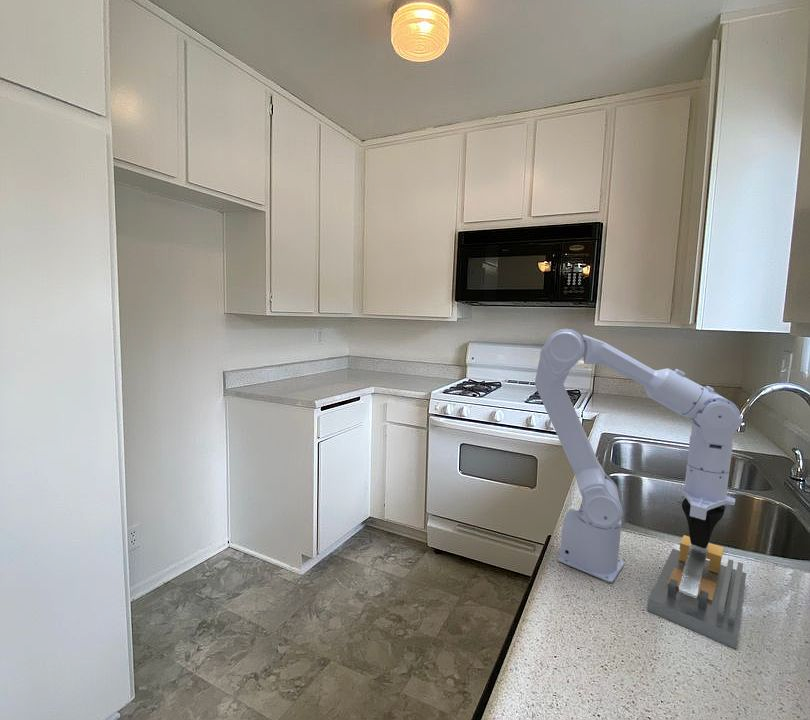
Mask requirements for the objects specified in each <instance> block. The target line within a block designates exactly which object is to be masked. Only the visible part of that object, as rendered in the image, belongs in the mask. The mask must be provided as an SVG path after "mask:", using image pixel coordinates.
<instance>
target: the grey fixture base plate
mask: <svg viewBox="0 0 810 720" xmlns="http://www.w3.org/2000/svg"><path fill="white" fill-rule="evenodd" d="M679 555H680V549H679V550H678V549H675V548H672V549H671V550H670V554H669V556H668V558H667V560H666V561H665V564H664V566H663V568H662V570H661V572H660V574H659V576H658V578H657V580H656V582H655V585H654V587H653V589H652V591H651V593H650V595H649V597H648V600H647V601H648V602H647V612H649V613H652V614H654V615H657V616H658V617H661V618H663V619H666V620H667V621H670V622H672V623H675V624H677V625H679V626H682V627H684V628H686V629H689V630H691V631H694V632H696V633H698V634H700V635H703V636H705V637H707V638H710V639H712V640H714V641H716V642H718V643H720V644H722V645H726V646H728V647H730V648H732V649H735V650H737V646H738V645H737V644H738V637H739V632H740V631H739V630H740V623H741V617H742V615H741V614H742V608H743V600H744V593H745V586H746V577H747V572H744V571H743V568H744V563H742V562H739V561H738V562H737V567H736V569H735V568H734V559H731V558H728V560H727V565H723V564H721V565H720V569H719V573H715V572H712V571H709V562H710V559H706V560H705V565H704V569H703V574H702V578H701V583H700V587H699V592H698V596H697V599H695V598H693V597H690V596H688V595H685V594H682V593H680V592H679V586H680V582H681V578H682V575H683V571H684V567H685V563H686V562H683V561H680V560H679Z"/></svg>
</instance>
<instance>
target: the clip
mask: <svg viewBox="0 0 810 720" xmlns="http://www.w3.org/2000/svg"><path fill="white" fill-rule="evenodd" d="M690 544H691V541H690V535H689V536H688V535H685V534H684V535H683V536H682V539H681V541H680V542H679V551H680V555H679V560H680V561H683V562H686V559H687V556H688V552H689V548H690ZM723 555H724V547H723V546H720V545H716V544H714V543H710V542H709V543H708V551H707V556H706V560H709V561H710V562H709V571H712V572H715V573H719V569H720V565H722V558H723Z"/></svg>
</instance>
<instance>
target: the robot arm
mask: <svg viewBox="0 0 810 720" xmlns="http://www.w3.org/2000/svg"><path fill="white" fill-rule="evenodd" d="M582 358H583V365H596V364H597V365H598V364H599V365H603V366H605V367H607V368H609V369H611V370H613V371H615V372H616V373H619V374H621V375H623V376H624V377H627V378H628V379H630V380H632V381H634V382H637V383H638V384H639V385H641V386H644V388H645V393H646V396H647V398H649V399H651V400H652V401H655V402H656V403H658V404H661V405H663V406H664V407H666V408H668V409H670V410H671V411H673V412H675V413H676V414H678V415H681V416H682V417H685V418H690V419H691V420H692V422H691V423H692V424H691V434H690V436H689V444H688V445H689V446H688V452H687V453H688V454H687V463H686V471H685V479H684V480H685V481H684V486H683V487H682V494H683V496H684V497H685V498H684V499H683V500H682V502H681V508H682V510H683V512H684V515H685V517H686V520H687V526H688V534H689V537H690V541H691V544H692V545H695V546H698V547H701V548H705V549H706V547H707V545H708V543H710V539H711V538H712V534H713V531H714V529H715V527H716V525H717V524H718V522H720V520H721V519H722V518H723V517H724V514H725V510H726V506H725V505H729V506H735V504H736V498H735V497H733V496H729V495H727V494H728V486H729V478H730V471H731V462H732V454H733V447H734V446H733V441H734V440H733V439H734V432H736V431H737V430H738V429H739V428H740V427H741V425H742V424H743V421H744V419H743V417H741V411H740V409H739V408H738V406H737V405H736V404H735V403H734V402H733V401H731V400H729V399H727V398H726V397H723V396H722V395H720V394H719V393H718V392H716V391H715V389H714V388H713V387H711V386H709V385H705V386H702V385H701V384H699V383H697V382H695V381H693V380H691V379H690V378H688V377H686V376H685V375H686V373H685V372H684V371H682V370H680V369H678V368H675V369H674V370H673V369H670V368H662V369H658V370H655V369H653V368H651V367H649V366H647V365H646V364H644V363H642V362H640V361H639V360H637V359H635V358H633V357H631V356H630V355H628V354H626V353H624V352H622V351H621V350H619V349H617V348H616V347H614V346H612V345H610V344H609V343H607V342H605V341H602V340H600V339H597V338H594V337H592V336H589V335H586V334H585V333H584V334H582V335H581V334H580V333H579V332H578V331H576V330H575V329H571V328H562V329H559V330H557V331H554V332H553V333H552V334H551V335H550V336H549V337H548V338H547V340H546V341H545V343H544V345H543V346H542V348H541V349H540V353H539V361H538V363H537V364H538V365H537V371H536V375H535V380H534V385H535V388H536V391H537V393H538V396H539V397H540V400H541V402H542V404H543V407H544V408H545V411H546V412H547V416H548V417H549V420H550V422H551V424H552V427H553V428H554V432H555V434H556V436H557V437H558V439H559V442H560V444H561V446H562V449H563V451H564V453H565V455H566V457H567V459H568V460H567V461H568V462H569V465H570V467H571V469H572V471H573V474H574V476H575V479H576V483H577V487H578V491H579V493H580V495H581V499H582V505H581V506H580V508H578V510H577V509H572V508H570V509H568V511H567V512H566V513H565V515H564V517H563V522H562V527H561V536H560V537H561V538H560V548H559V549H560V550H559V557H558V559H557V560H558V562H560V563H562V564H564V565H566V566H569V567H572V568H574V569H576V570H579V571H580V572H583V573H585V574H589V575H591V576H594V577H595V578H598V579H600V580H603V581H605V582H607V583H610V584H611V583H614V581H615V580H616V579H617V576H618V575H619V573H620V572H621V570H622V569H623V567H624V566H625V561H623V560H620V559H619V553H620V543H621V532H622V518H623V507H622V504H621V500H620V497H619V488H618V486H617V484H616V483H615V481H614V480H613V479H611V478H610V477H609V476H608V475H607V474H606V472H605V470H604V468H603V466H602V465H601V464H600V462H599V460H598V457H597V454H596V453H595V451H594V449H593V447H592V444H591V442H590V440H589V438H588V435H587V433H586V431H585V429H584V427H583V425H582V422H581V420H580V418H579V416H578V414H577V411H576V409H575V407H574V404H573V403H572V400H571V398H570V396H569V394H568V391H567V390H566V387H565V385H564V383H565V382H566V379H567V378H568V375H569V373H570V370H572V368H573V367H575V366H576V364H578V362H579V361H580V360H581V359H582Z"/></svg>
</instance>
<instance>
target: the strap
mask: <svg viewBox="0 0 810 720" xmlns="http://www.w3.org/2000/svg"><path fill="white" fill-rule="evenodd" d="M707 551H708V545H707V547H706V549H705V548H701V547H698V546H695V545H692V544H690V548H689V552H688V556H687V559H686V563H685V567H684V571H683V575H682V578H681V582H680V586H679V592H680V593H682V594H685V595H688V596H690V597H693V598H695V599H697V596H698V592H699V587H700V583H701V578H702V574H703V569H704V565H705V560H707V558H706V556H707Z"/></svg>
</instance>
